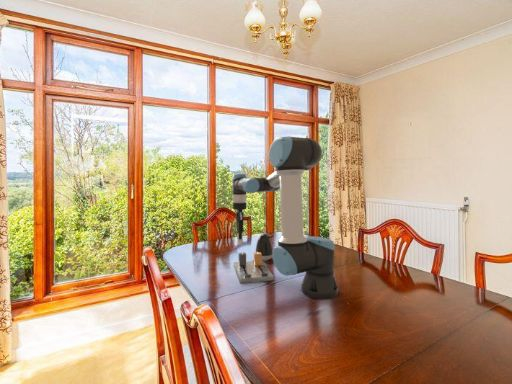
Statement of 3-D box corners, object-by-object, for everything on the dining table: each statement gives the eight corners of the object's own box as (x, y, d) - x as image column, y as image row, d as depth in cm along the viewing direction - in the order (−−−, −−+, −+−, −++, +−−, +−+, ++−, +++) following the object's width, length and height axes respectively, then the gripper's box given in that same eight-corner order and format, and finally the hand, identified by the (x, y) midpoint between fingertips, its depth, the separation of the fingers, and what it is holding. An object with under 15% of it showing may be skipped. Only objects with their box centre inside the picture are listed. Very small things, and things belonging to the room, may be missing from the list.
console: (274, 280, 133) (273, 274, 133) (239, 283, 130) (239, 276, 130) (262, 263, 156) (262, 258, 156) (233, 266, 153) (233, 260, 153)
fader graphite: (246, 265, 148) (246, 253, 147) (239, 265, 147) (239, 253, 147) (245, 263, 151) (245, 251, 150) (238, 263, 150) (238, 252, 150)
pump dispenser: (273, 262, 159) (273, 235, 158) (255, 262, 160) (255, 235, 158) (273, 256, 169) (272, 231, 168) (255, 256, 170) (255, 231, 169)
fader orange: (261, 265, 148) (261, 253, 147) (255, 265, 147) (254, 253, 147) (260, 263, 151) (260, 251, 151) (253, 263, 150) (253, 252, 150)
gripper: (248, 203, 148) (248, 247, 150) (244, 200, 161) (244, 241, 163) (234, 203, 147) (234, 248, 149) (231, 200, 160) (231, 241, 162)
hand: (239, 244), depth 156 cm, fingers closed
